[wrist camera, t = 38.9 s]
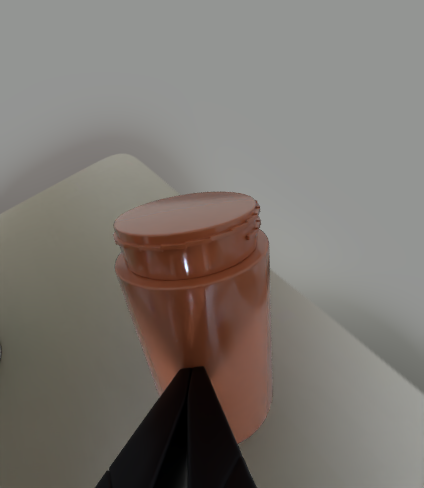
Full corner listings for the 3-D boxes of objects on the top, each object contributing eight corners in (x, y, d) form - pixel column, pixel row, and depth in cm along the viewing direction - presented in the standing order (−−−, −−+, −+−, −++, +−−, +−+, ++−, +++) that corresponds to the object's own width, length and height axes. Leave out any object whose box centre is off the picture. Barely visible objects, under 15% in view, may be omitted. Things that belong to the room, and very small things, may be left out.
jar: (187, 484, 9) (108, 265, 5) (150, 368, 14) (96, 211, 10) (298, 400, 11) (308, 202, 7) (233, 326, 16) (216, 184, 12)
